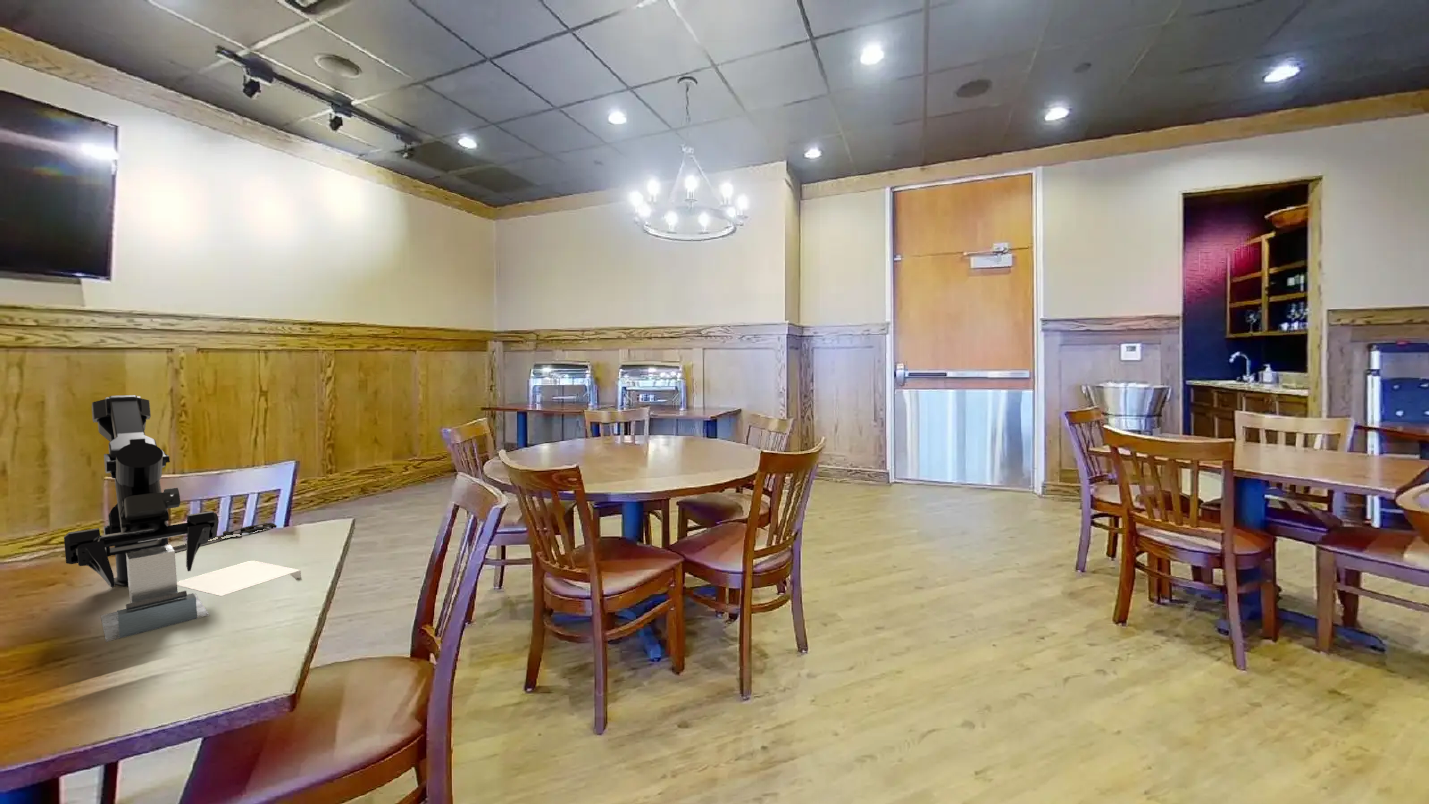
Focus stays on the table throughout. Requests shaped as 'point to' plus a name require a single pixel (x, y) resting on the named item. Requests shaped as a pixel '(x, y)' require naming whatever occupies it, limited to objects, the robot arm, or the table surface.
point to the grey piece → (152, 615)
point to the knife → (244, 529)
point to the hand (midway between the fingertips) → (152, 577)
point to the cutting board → (237, 577)
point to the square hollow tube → (151, 573)
